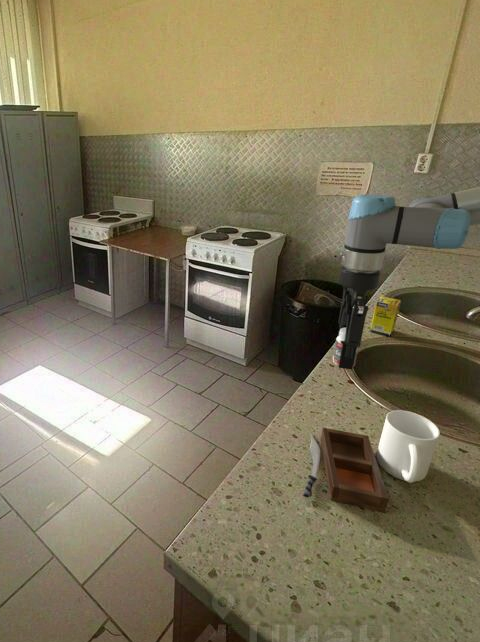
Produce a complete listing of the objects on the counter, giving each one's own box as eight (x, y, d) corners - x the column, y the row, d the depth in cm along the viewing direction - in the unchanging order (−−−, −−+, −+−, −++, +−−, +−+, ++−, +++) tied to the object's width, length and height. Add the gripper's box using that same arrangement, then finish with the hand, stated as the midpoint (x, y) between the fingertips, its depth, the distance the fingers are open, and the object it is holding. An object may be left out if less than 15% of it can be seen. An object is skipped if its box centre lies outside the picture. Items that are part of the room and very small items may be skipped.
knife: (316, 503, 70) (317, 499, 70) (301, 498, 71) (302, 494, 71) (321, 435, 86) (322, 431, 86) (309, 431, 87) (309, 428, 87)
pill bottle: (330, 364, 93) (336, 333, 90) (334, 355, 96) (339, 325, 93) (353, 370, 90) (360, 338, 87) (356, 361, 94) (362, 329, 91)
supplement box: (390, 337, 126) (398, 305, 122) (369, 331, 130) (376, 301, 126) (394, 330, 130) (401, 300, 126) (373, 325, 134) (380, 295, 130)
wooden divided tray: (365, 448, 82) (368, 435, 81) (385, 513, 68) (389, 499, 67) (320, 439, 85) (322, 427, 84) (330, 500, 71) (333, 486, 70)
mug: (435, 505, 69) (450, 460, 66) (379, 489, 73) (392, 445, 69) (421, 458, 79) (434, 416, 76) (373, 446, 83) (383, 405, 79)
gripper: (334, 255, 94) (321, 342, 102) (348, 280, 78) (330, 380, 86) (371, 257, 91) (354, 346, 100) (392, 283, 76) (369, 385, 84)
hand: (343, 361), depth 93 cm, fingers closed on pill bottle, 5 cm apart
